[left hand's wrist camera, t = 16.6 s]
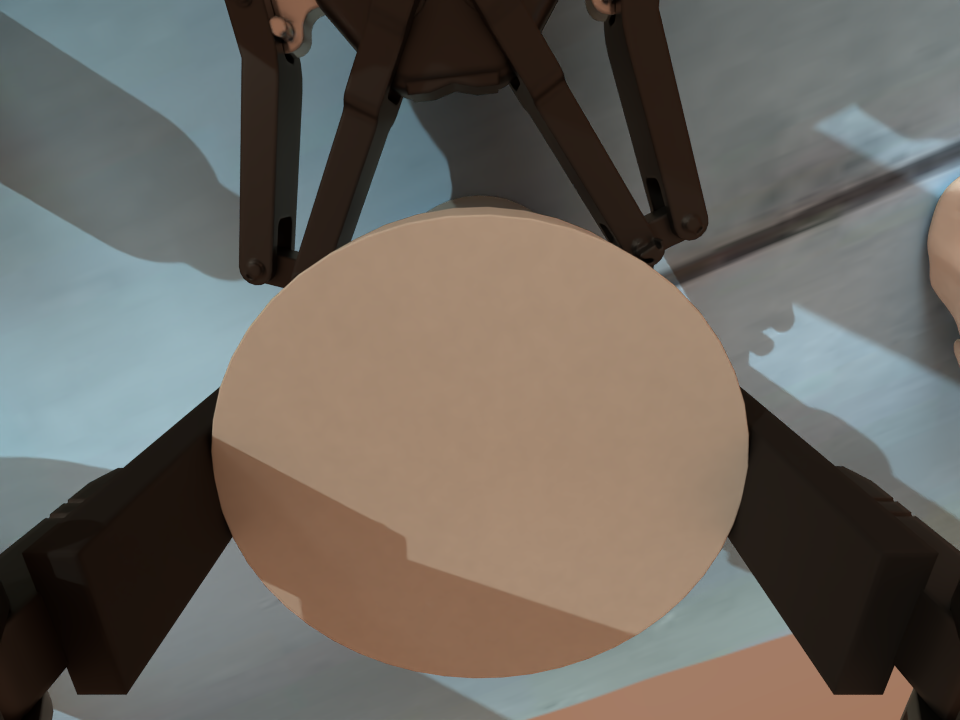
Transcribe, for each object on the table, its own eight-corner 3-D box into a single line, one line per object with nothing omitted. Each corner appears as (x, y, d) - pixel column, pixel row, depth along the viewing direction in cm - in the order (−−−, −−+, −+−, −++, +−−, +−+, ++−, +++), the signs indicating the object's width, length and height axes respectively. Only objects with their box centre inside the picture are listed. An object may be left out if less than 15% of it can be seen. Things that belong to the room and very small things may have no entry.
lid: (337, 645, 14) (318, 710, 13) (170, 275, 11) (110, 295, 9) (725, 576, 14) (760, 636, 12) (688, 147, 10) (733, 141, 8)
